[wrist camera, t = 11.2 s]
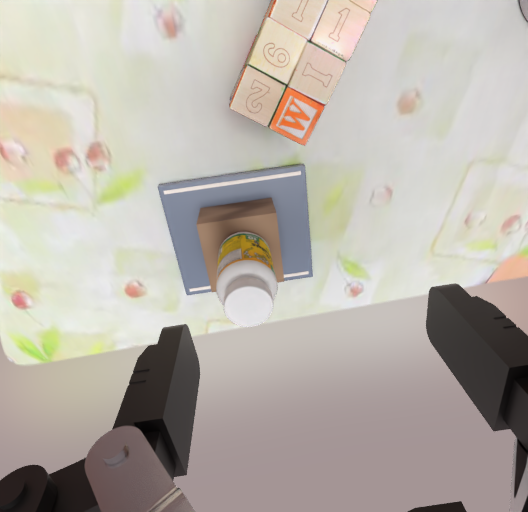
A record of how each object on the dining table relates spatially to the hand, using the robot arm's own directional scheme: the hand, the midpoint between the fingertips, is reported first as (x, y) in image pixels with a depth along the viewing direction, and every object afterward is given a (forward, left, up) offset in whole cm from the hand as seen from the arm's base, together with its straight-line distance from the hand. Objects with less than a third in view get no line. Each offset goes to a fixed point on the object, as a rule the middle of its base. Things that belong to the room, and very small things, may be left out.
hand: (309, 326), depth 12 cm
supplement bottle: (+3, +9, -24) cm, 26 cm away
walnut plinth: (+3, +9, -29) cm, 30 cm away
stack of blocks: (-6, -13, -30) cm, 33 cm away
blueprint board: (+3, +9, -30) cm, 31 cm away
